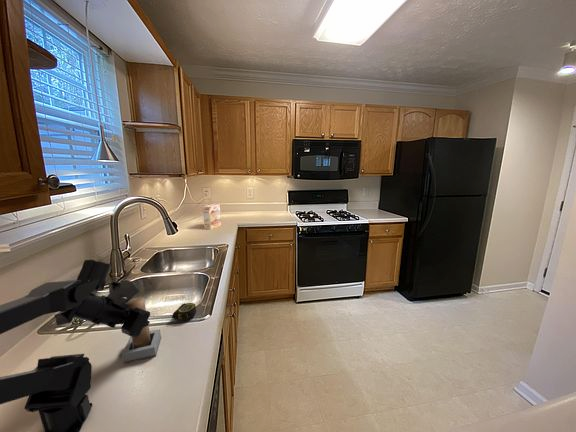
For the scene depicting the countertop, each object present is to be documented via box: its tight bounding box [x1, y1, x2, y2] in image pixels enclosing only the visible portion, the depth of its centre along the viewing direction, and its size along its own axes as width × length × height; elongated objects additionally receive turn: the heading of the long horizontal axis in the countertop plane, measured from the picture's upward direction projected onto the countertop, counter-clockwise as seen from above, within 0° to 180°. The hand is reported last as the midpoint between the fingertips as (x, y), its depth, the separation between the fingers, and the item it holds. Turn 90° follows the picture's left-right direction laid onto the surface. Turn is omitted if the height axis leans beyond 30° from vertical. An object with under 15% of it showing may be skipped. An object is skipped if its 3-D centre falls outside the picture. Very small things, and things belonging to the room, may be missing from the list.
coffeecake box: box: [202, 203, 222, 230], centre depth 209 cm, size 15×7×20 cm, turn 159°
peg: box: [126, 297, 151, 349], centre depth 70 cm, size 4×4×15 cm
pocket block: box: [121, 329, 162, 364], centre depth 71 cm, size 8×8×3 cm
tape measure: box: [171, 302, 197, 321], centre depth 87 cm, size 7×7×4 cm
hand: (143, 321), depth 71 cm, fingers closed on peg, 4 cm apart
